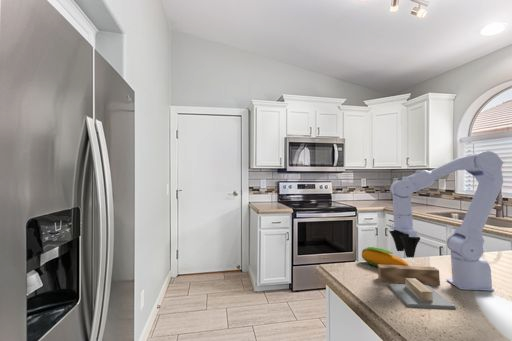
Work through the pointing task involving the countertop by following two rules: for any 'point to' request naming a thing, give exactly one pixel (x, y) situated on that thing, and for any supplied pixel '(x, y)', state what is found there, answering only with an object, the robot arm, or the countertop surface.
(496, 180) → the robot arm
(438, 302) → the board
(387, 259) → the corn
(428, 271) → the brown wooden block
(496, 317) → the countertop surface
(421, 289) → the ridge
